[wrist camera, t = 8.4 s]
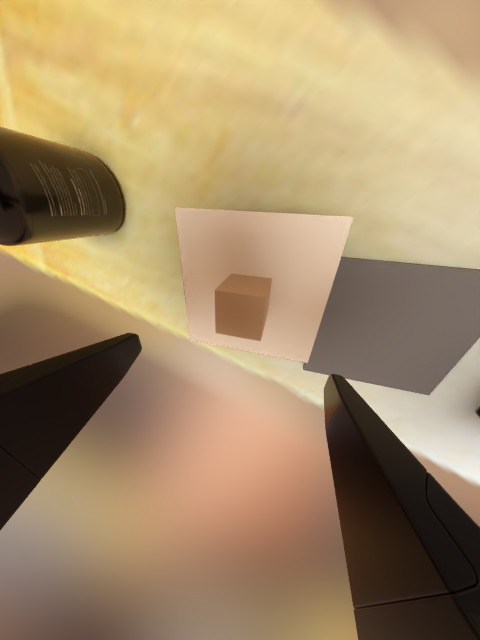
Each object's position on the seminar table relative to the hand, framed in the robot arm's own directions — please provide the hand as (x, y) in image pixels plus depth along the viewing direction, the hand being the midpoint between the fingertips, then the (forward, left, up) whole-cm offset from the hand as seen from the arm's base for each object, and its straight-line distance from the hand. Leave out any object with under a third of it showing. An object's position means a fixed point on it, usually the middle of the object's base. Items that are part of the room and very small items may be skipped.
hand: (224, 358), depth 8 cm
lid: (0, 0, -8) cm, 8 cm away
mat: (-13, +4, -12) cm, 18 cm away
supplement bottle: (+17, -6, -12) cm, 22 cm away
